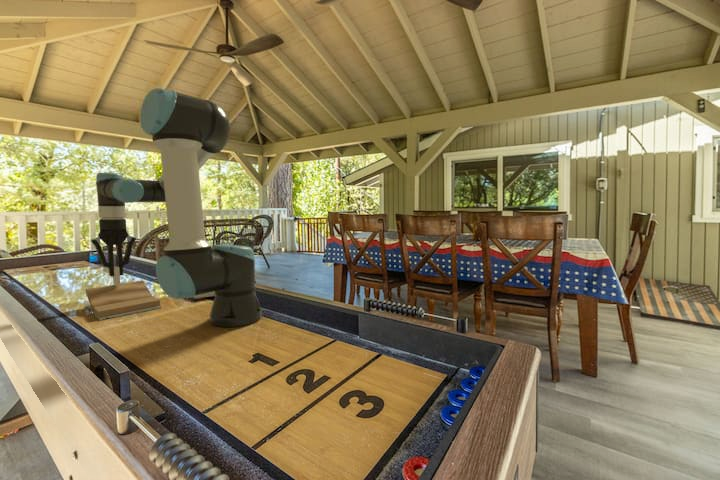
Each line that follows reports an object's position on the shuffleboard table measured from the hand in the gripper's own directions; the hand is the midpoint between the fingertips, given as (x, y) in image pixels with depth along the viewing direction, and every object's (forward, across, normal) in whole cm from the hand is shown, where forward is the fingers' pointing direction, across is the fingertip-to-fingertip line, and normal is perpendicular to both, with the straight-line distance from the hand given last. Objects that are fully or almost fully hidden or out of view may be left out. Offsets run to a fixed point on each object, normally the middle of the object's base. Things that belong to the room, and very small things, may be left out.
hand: (116, 284), depth 120 cm
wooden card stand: (+7, 0, +7) cm, 9 cm away
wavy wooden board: (+4, 0, +3) cm, 5 cm away
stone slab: (+7, -25, +4) cm, 26 cm away
